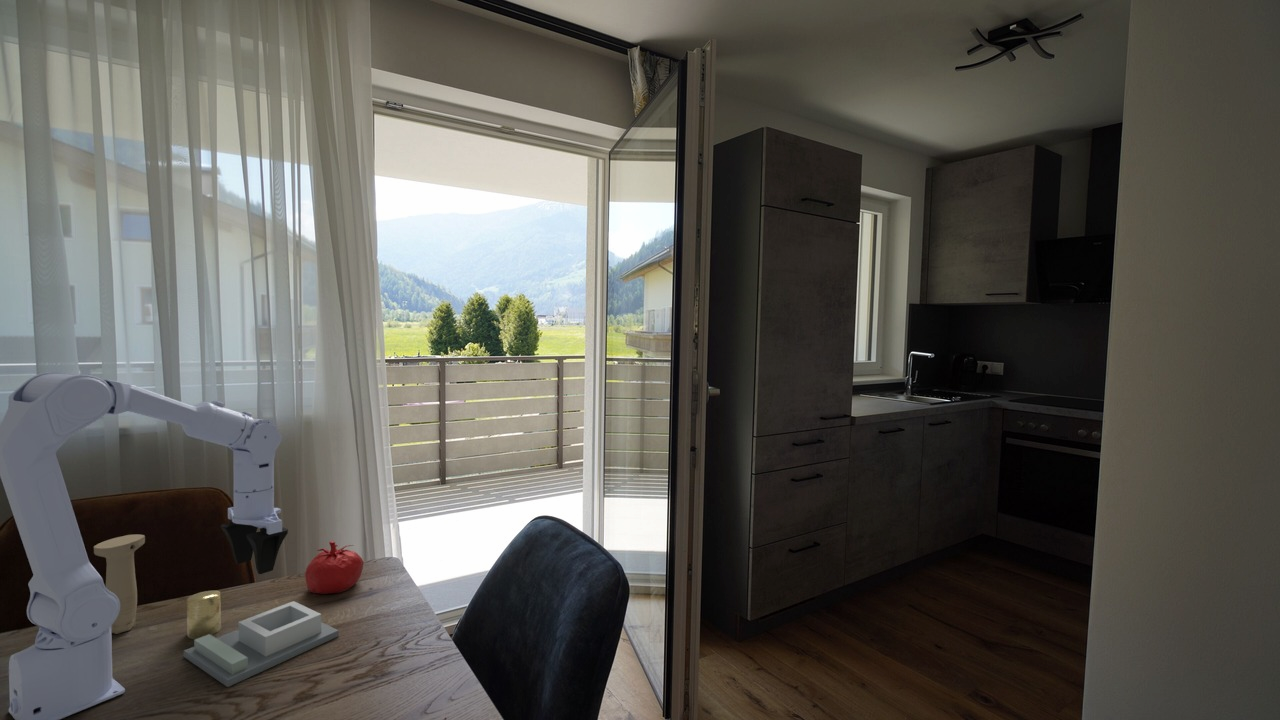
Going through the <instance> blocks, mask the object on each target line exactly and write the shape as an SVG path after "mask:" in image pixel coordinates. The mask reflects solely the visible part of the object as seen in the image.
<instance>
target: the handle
mask: <svg viewBox="0 0 1280 720" xmlns="http://www.w3.org/2000/svg"><path fill="white" fill-rule="evenodd" d="M145 543H146V536H145V534H137V533H136V534H126V535H123V536H117V537H114V538H110V539H107V540H104V541H102V542H100V543H97V544H96V545H94V546H93V554H94V555H95V556H97V557H102V558H105V560H106V561H105V563H106V572H105V575H106V576H105V587H106V588H107V589H108V590H109V591H110V592H112V593H114V594H115V595H116V596H117V597H118V599H119V601H120V612H119V614H118V617H117V619H116V620H115V622H114V623H113V624H112V625H111V634H115V635H116V634H117V635H118V634H120V633H124V632H128V631H130V630H132V629H133V627H134V626H135V625H136V619H137V618H136V616H137V610H138V609H137V607H138V606H137V605H138V588H137V579H136V567H135V552H136V551H137V550H138V549H139V548H141V547H143V545H144V544H145Z"/></svg>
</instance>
